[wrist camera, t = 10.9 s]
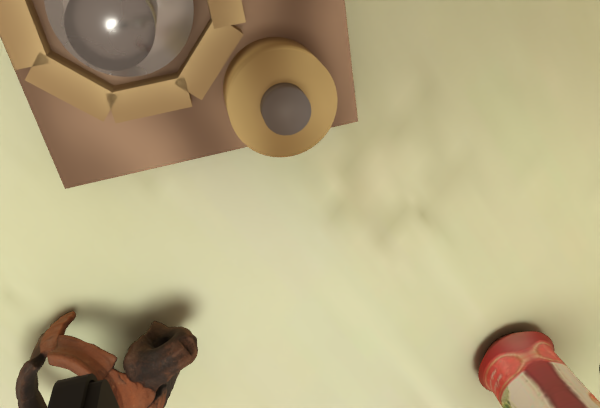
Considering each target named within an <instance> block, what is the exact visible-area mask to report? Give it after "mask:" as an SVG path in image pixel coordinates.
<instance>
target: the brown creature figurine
mask: <svg viewBox="0 0 600 408" xmlns="http://www.w3.org/2000/svg"><path fill="white" fill-rule="evenodd" d="M75 317H76V314H75V312H74V311H73V312H69V313H67V314H65V315H63V316H61V317H60V318H59V319H58V320H57V321H56V322H54V323H53V324H52V325H51V326H50V328H49V329H48V330H46V332H45V333H44V334H42V335H41V336H40V338H39V340H38V342H37V344H36V346H35V349H34V351H33V353H32V355H31V358H30V360H29V361H27V362H26V363H25V364H24V365H23V367H22V368H21V370H20V372H19V376H18V378H17V382H16V397H17V399H18V406H19V408H47V406H46V403H45V402H44V399H43V397H42V395H41V393H40V392H39V390H38V377H37V372H38V370H39V369H40V368H41V367H42V365H43V364H44V362H45V359H46V357H47V358H48V362H49V364H50V365H52V366H57V367H62V368H65V369H68V370H71V371H72V372H74V373H75V374H77V375H78V376H81V375H86V374H91V373H93V374H94V375H95V376H96V378H97V380H98V381H99V380H103V379H106V380H107V381H108V382H109V384H110V386H111V389H112V391H113V393H114V395H115V398H116V400H117V402H118V405H119V407H120V408H164V407H165V405H166V403H167V399H168V398H169V396H170V394H171V391H172V389H173V387H174V384H175V381H176V379H177V377H178V375H179V372H180V370H182V369H183V368H184V367H186V366H187V365H189V364H191V363H192V362H193V361H194V360H195V358H196V356H197V353H198V347H197V338H196V337H195V336H194V335H193V334H192V333H191V331H190V330H188V329H186V328H183V327H167V326H166V325H164V324H162V323H160V322H157V321H154V322H153V323H152V324H151V326H150V328H149V329H148V330H147V332H146V333H145V335H142V336H141V337H140V338H139V339H138V340H137V341H135V342H134V343H133V344H132V345H131V346H130V347H129V349H128V352H127V354H126V356H125V358H124V362H123V365H124V370H125V372H126V373H122V372H119V371H118V370H116V369H114V365H115V362H116V361H117V357H116V356H114V355H113V354H110V353H108V352H106V351H105V350H102V349H100V348H99V347H97V346H96V345H94V344H90V343H87V342H84V341H82V340H80V339H78V338H75V337H72V336H67V335H64V333H65V330H66V328H67V327H68V325H69V324H70V323H71V322H72V321H73V320H74V319H75Z"/></svg>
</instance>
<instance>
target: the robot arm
mask: <svg viewBox="0 0 600 408" xmlns="http://www.w3.org/2000/svg"><path fill="white" fill-rule="evenodd" d="M599 371H600V367H599ZM48 408H120V407H119V405H118V402H117V400H116V398H115V395H114V393H113V391H112V389H111V386H110V384H109V382H108V381H107V380H106V379H103V380H99V381H98V380H97V378H96V376H95V375H94V374H93V373H91V374H86V375H81V376H77V377H72V378H68V379H63V380H58V381H57V382H56V383H55V385H54V387H53V390H52V394H51V397H50V401H49V404H48Z"/></svg>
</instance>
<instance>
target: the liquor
mask: <svg viewBox="0 0 600 408" xmlns="http://www.w3.org/2000/svg"><path fill="white" fill-rule="evenodd" d="M478 377H479V381H480V383H481V384H482V386H483V387H485V388H486V389H487V390H489V391H491V392H493V393H494V394H495V396H496V397H497V399H498V401H499V402H500V404H501V405H502V407H503V408H600V402H599V401H598V400H597V399H596V398H595V396H594V395H593V394H592V393H591V392H590V391H589V390H588V389H587V388H586V387H585V386H584V385H583V383H582V382H581V381H580V380H579V379H578V378H577V377H576V376H575V375H574V373H573V372H572V371H571V370H570V369H569V368H568V367H567V366H566V365H565V363H564V362H563V361H562V360H561V359H560V358H559V357H558V356H557V355H556V353H555V352H554V345H553V343H552V340H551V339H550V338H549V337H548V336H547V335H545V334H543V333H540V332H535V331H527V332H518V333H511V334H507V335H505V336H502V337H501V338H499V339H497V340H496V341H495V342H494V343H493V344H492V345H491V346H490V347H489V348H488V350H487V352H486V354H485V356H484V358H483V360H482V362H481V364H480V367H479V373H478Z"/></svg>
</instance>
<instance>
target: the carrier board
mask: <svg viewBox="0 0 600 408" xmlns="http://www.w3.org/2000/svg"><path fill="white" fill-rule="evenodd" d="M193 6H194V15H193V24H192V28H191V32H190V35H189V37H188V40H187V42H186V43H185V45H184V47H183V48H182V50H181V51H180V53H179V54H178V55H177V56H176V57H175V58H174V59H173V60H172V61H171V62H170V63H168V64H167V65H166V66H164V67H162V68H161V69H159V70H157V71H155V72H152V73H149V74H146V75H142V76H135V77H120V76H113V75H109V74H105V73H102V72H99V71H96V70H94V69H92V68H90V67H88V66H87V65H85V64H84V63H82V62H80V61H79V60H78V59H77V58H75V57H74V56H73V55H72V54H71V53H70V52H69V51H68V50H67V49H66V48H65V47H64V46H63V45H62V43H61V42H60V41H59V39H58V38H57V36H56V34H55V33H54V31H53V29H52V27H51V25H50V22H49V20H48V17H47V14H46V10H45V4H44V0H0V37H1V39H2V41H3V44H4V46H5V49H6V51H7V53H8V56H9V58H10V60H11V63H12V65H13V67H14V70H15V72H16V74H17V77H18V79H19V81H20V84H21V86H22V89H23V91H24V93H25V96H26V98H27V100H28V103H29V105H30V107H31V110H32V112H33V114H34V117H35V119H36V121H37V124H38V126H39V128H40V131H41V133H42V136H43V138H44V140H45V143H46V145H47V147H48V150H49V152H50V154H51V157H52V159H53V161H54V164H55V166H56V168H57V171H58V173H59V176H60V178H61V180H62V183H63V185H64V187H65V189H66V188H70V187H75V186H79V185H83V184H88V183H92V182H96V181H101V180H105V179H109V178H114V177H118V176H122V175H127V174H131V173H135V172H140V171H144V170H148V169H153V168H157V167H162V166H166V165H170V164H175V163H179V162H183V161H188V160H192V159H196V158H201V157H205V156H209V155H214V154H218V153H222V152H227V151H231V150H235V149H240V148H244V147H249V148H251V149H252V150H254V151H256V152H258V153H260V154H263V155H267V156H271V157H288V156H293V155H297V154H300V153H302V152H305V151H307V150H308V149H310V148H312V147H313V146H314V145H316V144H317V143H318V142H319V141H320V140H321V139H322V138H323V137H324V136H325V135H326V133H327V132H328V130H329V129H330V128H331V127H335V126H339V125H344V124H348V123H353V122H357V121H358V118H357V109H356V100H355V91H354V82H353V73H352V64H351V55H350V46H349V37H348V28H347V19H346V10H345V1H344V0H193Z"/></svg>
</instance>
